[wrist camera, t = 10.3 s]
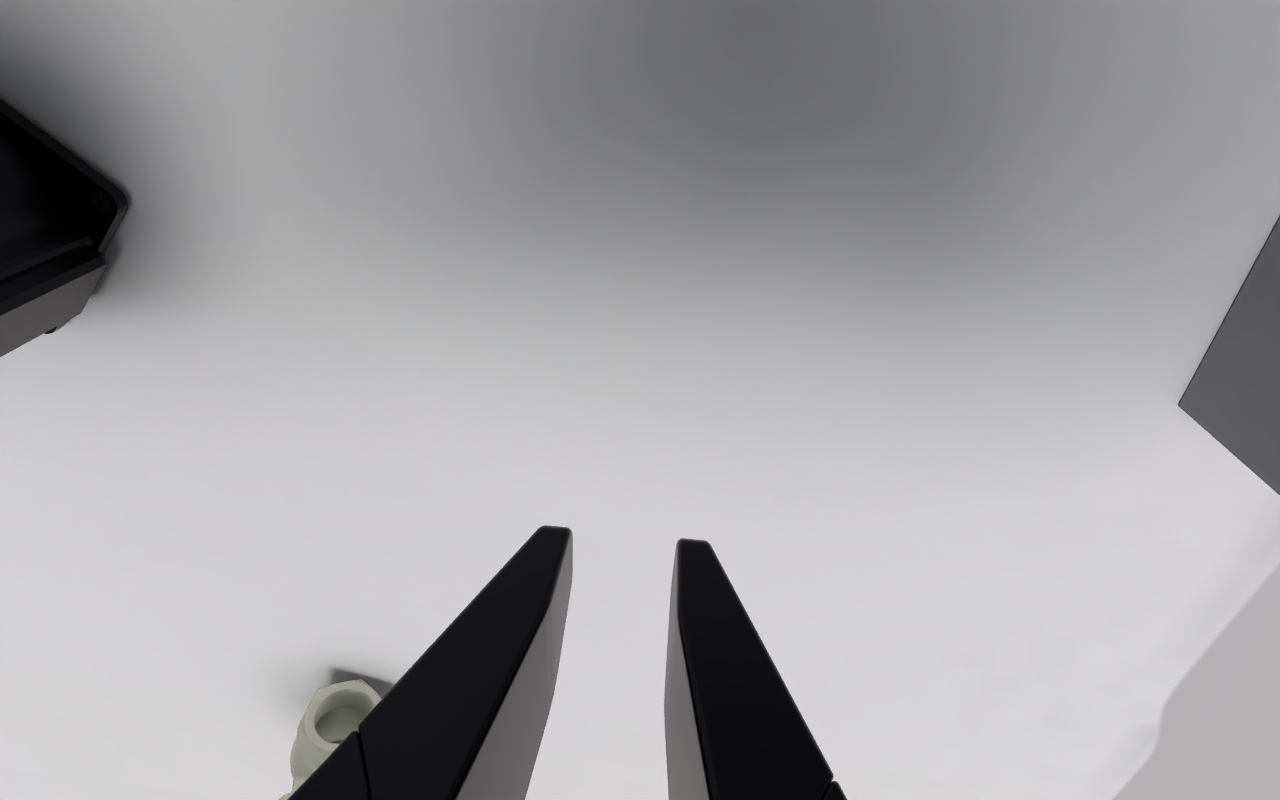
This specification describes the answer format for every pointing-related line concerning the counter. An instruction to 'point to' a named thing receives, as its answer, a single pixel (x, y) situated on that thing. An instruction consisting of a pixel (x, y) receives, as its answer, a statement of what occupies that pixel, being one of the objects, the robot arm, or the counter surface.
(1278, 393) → the side door
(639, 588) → the counter surface
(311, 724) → the valve
